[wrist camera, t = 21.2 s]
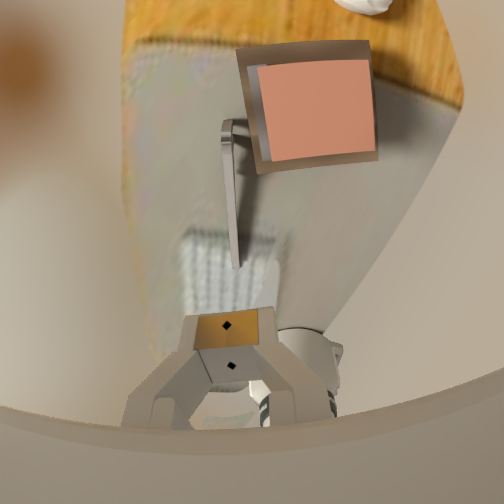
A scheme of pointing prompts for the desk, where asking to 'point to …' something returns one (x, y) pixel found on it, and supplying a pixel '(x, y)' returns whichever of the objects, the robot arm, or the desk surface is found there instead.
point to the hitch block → (254, 104)
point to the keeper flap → (317, 108)
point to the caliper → (230, 188)
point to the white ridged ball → (365, 6)
